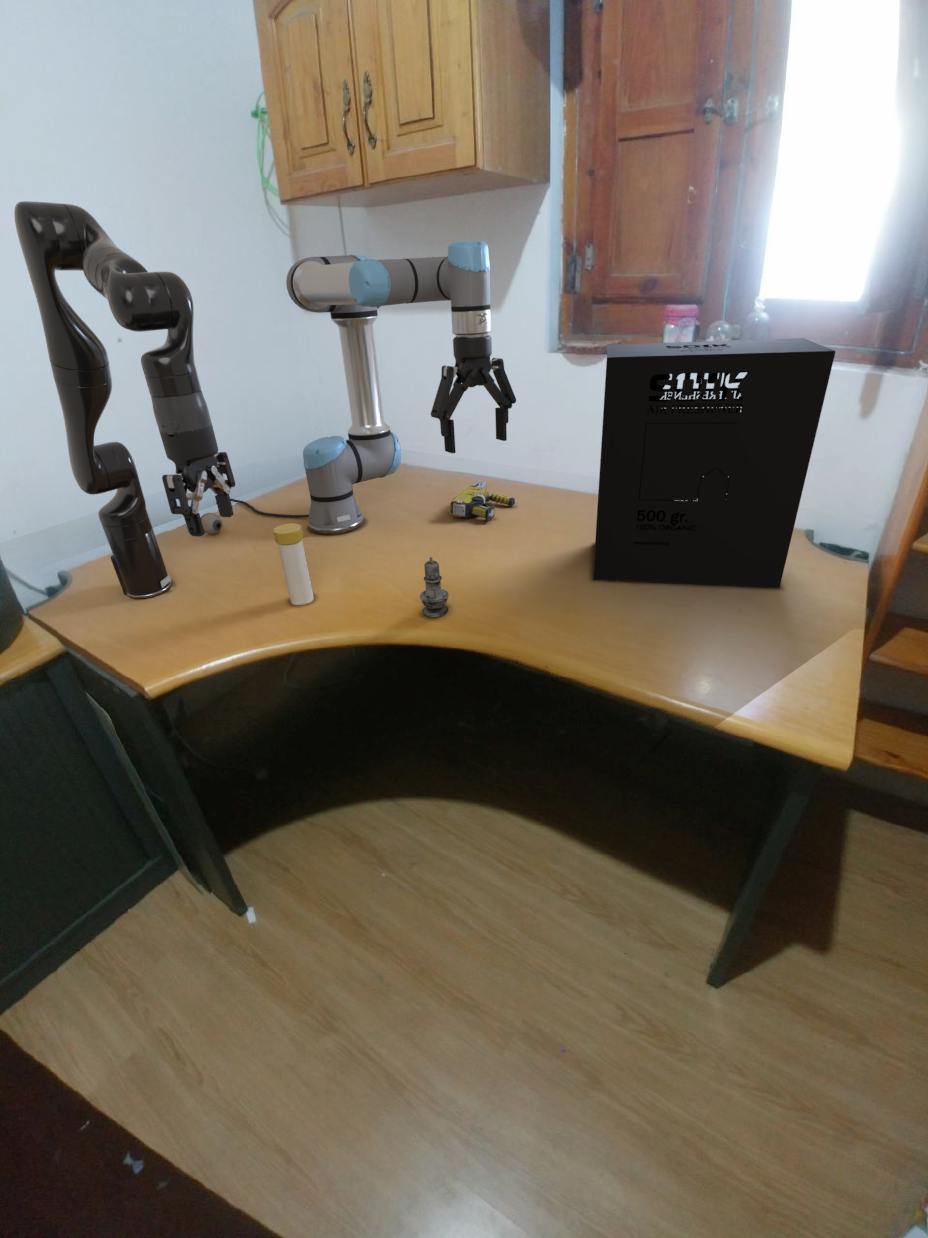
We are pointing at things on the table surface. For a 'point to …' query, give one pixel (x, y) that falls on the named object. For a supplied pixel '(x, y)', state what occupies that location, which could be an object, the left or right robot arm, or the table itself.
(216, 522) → the eyeball
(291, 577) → the jar
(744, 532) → the cardboard box
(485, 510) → the toy gun
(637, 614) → the table surface
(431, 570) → the dark grey tall piece
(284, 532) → the lid
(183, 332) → the left robot arm
